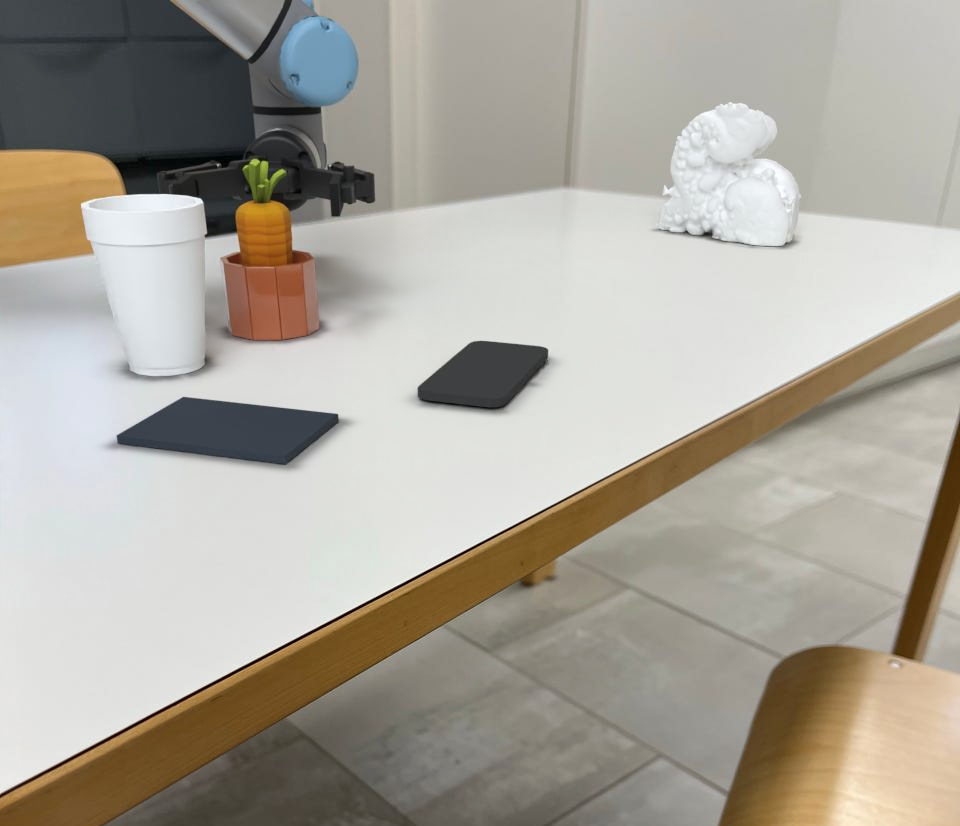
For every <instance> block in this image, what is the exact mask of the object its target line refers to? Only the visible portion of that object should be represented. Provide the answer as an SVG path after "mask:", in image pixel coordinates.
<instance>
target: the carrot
mask: <svg viewBox="0 0 960 826" xmlns="http://www.w3.org/2000/svg"><path fill="white" fill-rule="evenodd" d="M243 172H244V175H245V177H246V179H247V181H248V182H249V184H250V186H251V190H252V194H253V199H252V200H249V201H247V202H244V203H243V204H241V205H239V206H238V208H237V209H236V211H235V224H236V233H237V240H238V246H239V252H240V253H241V259H242V264H243V265H244V266H279V265H287V264H292V263H293V254H292V250H293V234H292V233H293V231H292V217H291V211H290V212H289V210H288V208H287V207H286V206H285V205H283V204H281V203H279V202H276V201H272V200H270V197H271V194H272V191H273V189H274V187H275V186H276V184H277V183H278V181H279V180H280V179H282V178H283V177H285V176H286V175H287V173H286V171H284V170H283V169H281V170H279V171H277V172H276V173H275V174H273V176H272V178H271V179H270V181H269V180H268V179H267V174H268V162H266V161H262V162H261V164H260V161H259V160H258V159H253V160H251V162H250V163H249V165H246V166H245V167H244V168H243Z"/></svg>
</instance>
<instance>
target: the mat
mask: <svg viewBox="0 0 960 826" xmlns="http://www.w3.org/2000/svg"><path fill="white" fill-rule="evenodd" d="M339 419H340V418H339V413H333V412H325V411H315V410H306V409H299V408H288V407H281V406H270V405H262V404H251V403H245V402H235V401H226V400H218V399H217V400H216V399H208V398H199V397H198V398H197V397H189V396H182V397H181V398H179V399H177V400H175V401H173V402H172V403H170V404H168V405H166V406H165V407H163V408H161V409H160V410H158V411H156V412H154V413H153V414H151V415H150V416H148V417H146V418H144V419H142V420H141V421H139V422H137V423H135V424H134V425H131V426H130V427H128V428H127V429H125V430H124V431H122V432H120V433H118V434H116V440H117V444H121V445H129V446H137V447H144V448H153V449H160V450H167V451H168V450H169V451H177V452H183V453H184V452H185V453H194V454H201V455H209V456H217V457H223V458H224V457H226V458H232V459H240V460H249V461H258V462H264V463H273V464H278V465H279V464H280V465H287V464H288V463H289V462H290V461H292V460H293V459H294V458H295V457H296V456H298V455H299V454H300V453H301V452H303V451H304V450H306V448H308V447H309V446H310V445H312V443H314V442H316V440H318V439H319V438H320V437H322V436H323V434H325V433H326V432H327V431H329V430H330V429H331V428H332V427H334V426H335V425H336V424H338V422H339V421H340V420H339Z"/></svg>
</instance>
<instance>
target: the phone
mask: <svg viewBox="0 0 960 826" xmlns="http://www.w3.org/2000/svg"><path fill="white" fill-rule="evenodd" d="M548 358H549V348H547V347H545V346H540V345H533V344H532V345H531V344H521V343H512V342H502V341H490V340H474V341H471V342H469V343H467V344H466V345H465V346H464V347H463V348H462V349H460V350H459V351H458V352H457V353H456V354H454V355H453V356H452V357H451V358H450V359H449V360H448V361H447V362H445V363H444V364H443V365H441V367H440V368H438V369H437V370H436V371H435V372H433V373H432V374H431V375H430V376H429V377H428V378H426V379H425V380H424V381H423V382H422V383H420V384H419V386H418V387H417V397H418V398H419V399H420V400H423V401H428V402H429V401H430V402H438V403H446V404H455V405H464V406H471V407H473V406H474V407H481V408H501V407H503V406H506V404H508V403H509V402H510V401H511V399H512V398H513V397H514V396H515V395H516V394H517V393H518V392H519V391H520V389H521V388H522V387H524V385H525V384H526V383H527V382H528V381H529V379H530V378H531V377H532V376H534V374H535V373H536V372H537V371H538V370H539V369H540V367H542V365H543V364H544V363H545V362H546V361H547V360H548Z"/></svg>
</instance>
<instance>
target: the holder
mask: <svg viewBox="0 0 960 826" xmlns="http://www.w3.org/2000/svg"><path fill="white" fill-rule="evenodd" d="M292 254H293V263H292V264H287V265H279V266H244V265H243V264H242V259H241V253H240V251H235V252H231V253H229V254H226V255H224V256H221V257H219V263H220V270H221V279H222V288H223V296H224V297H223V298H224V304H225V312H226V313H225V314H226V321H227V328H228V331H229V332H230V334H231V335H232V336H234V337H239V338H243V339H246V340H254V341H281V340H282V341H285V340H289V339H296V338H302V337H307V336H309V335H311V334H313V333H314V332H316V331H318V330H319V329H320V316H319V314H320V313H319V300H318V287H317V286H318V285H317V272H316V260H315V257H314V256H313V255H312V254H311V253H310V252H308V251H301V250H296V249H292Z"/></svg>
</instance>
